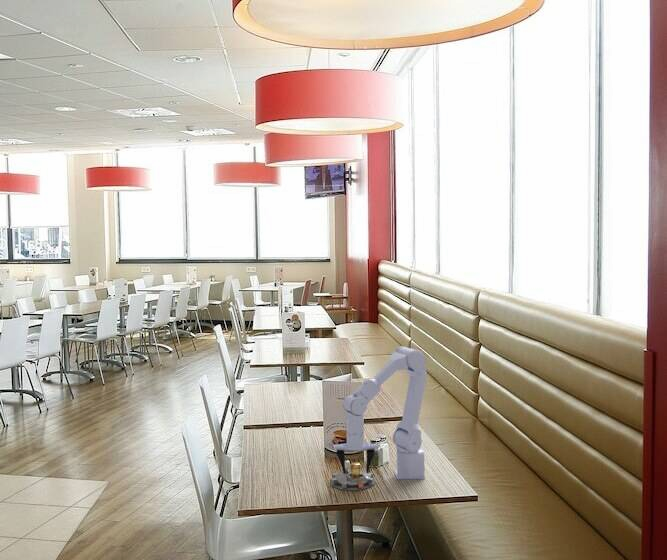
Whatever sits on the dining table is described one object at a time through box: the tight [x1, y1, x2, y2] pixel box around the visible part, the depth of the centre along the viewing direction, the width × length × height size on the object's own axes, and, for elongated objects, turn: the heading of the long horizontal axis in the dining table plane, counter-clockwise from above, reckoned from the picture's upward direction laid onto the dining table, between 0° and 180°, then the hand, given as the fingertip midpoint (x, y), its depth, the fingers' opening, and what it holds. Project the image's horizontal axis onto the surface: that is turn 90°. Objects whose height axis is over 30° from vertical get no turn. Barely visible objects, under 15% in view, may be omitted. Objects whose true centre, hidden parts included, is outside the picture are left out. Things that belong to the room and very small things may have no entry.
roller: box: [350, 462, 362, 479], centre depth 240 cm, size 3×3×5 cm
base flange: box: [329, 478, 376, 492], centre depth 243 cm, size 15×15×1 cm
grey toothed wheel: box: [331, 459, 375, 488], centre depth 243 cm, size 14×14×6 cm
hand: (355, 472), depth 240 cm, fingers open, 7 cm apart
